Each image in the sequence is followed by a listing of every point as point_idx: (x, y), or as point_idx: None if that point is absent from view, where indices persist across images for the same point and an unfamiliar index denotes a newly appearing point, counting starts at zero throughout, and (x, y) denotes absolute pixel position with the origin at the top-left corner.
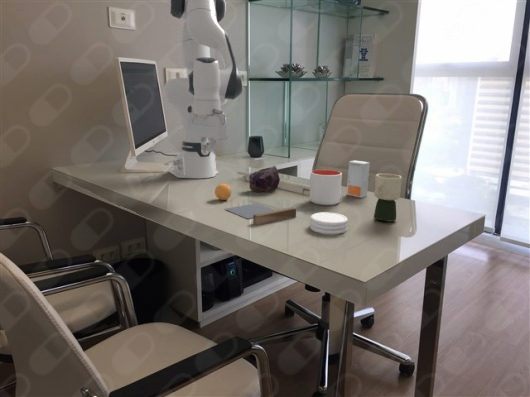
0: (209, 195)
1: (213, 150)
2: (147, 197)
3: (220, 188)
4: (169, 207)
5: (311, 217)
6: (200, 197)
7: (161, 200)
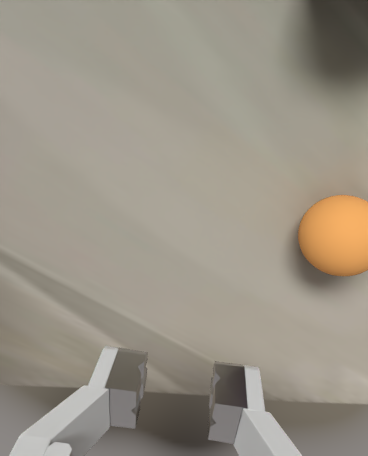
0: (224, 213)
1: (259, 372)
2: None
3: (359, 273)
4: None
5: None
6: (226, 258)
7: (172, 358)
